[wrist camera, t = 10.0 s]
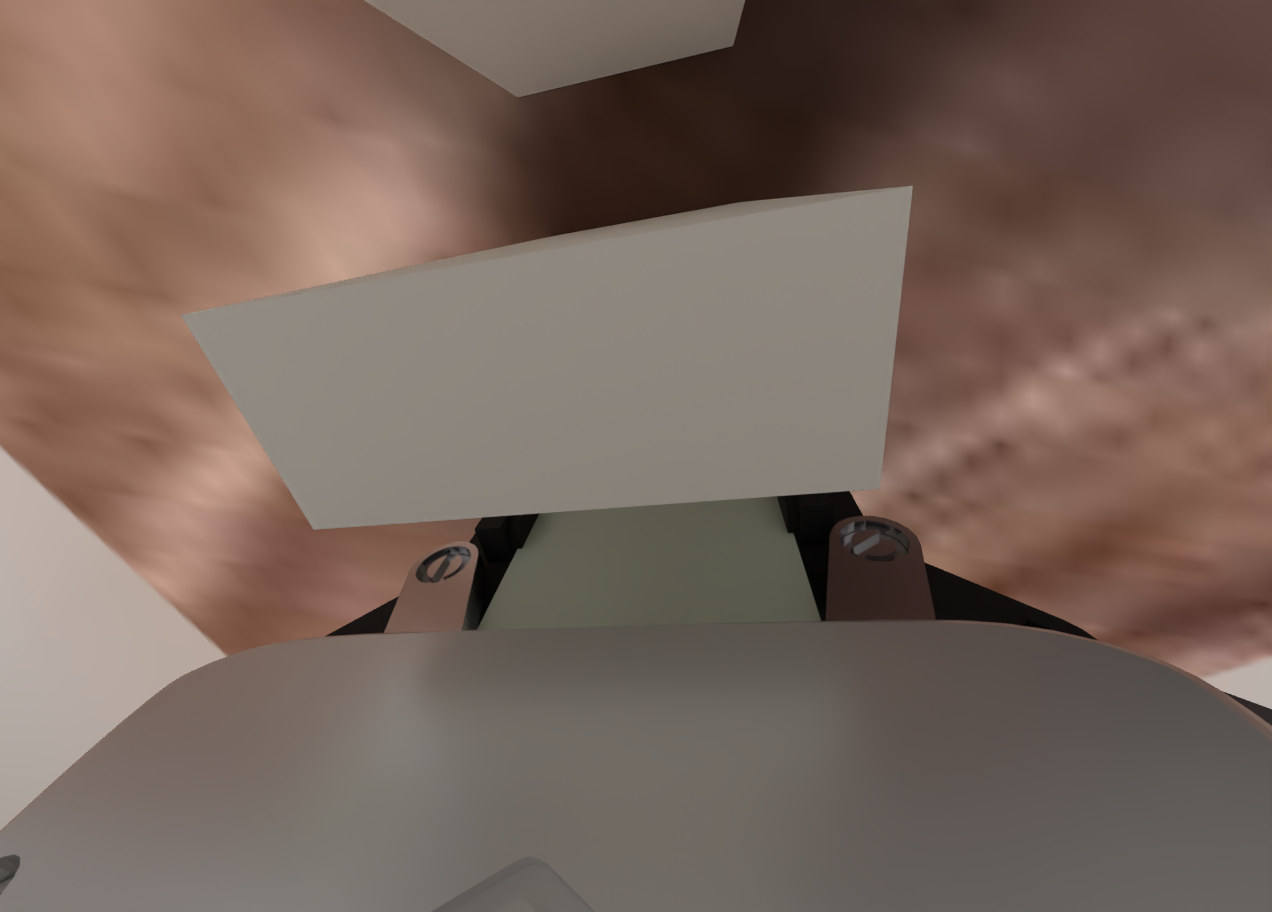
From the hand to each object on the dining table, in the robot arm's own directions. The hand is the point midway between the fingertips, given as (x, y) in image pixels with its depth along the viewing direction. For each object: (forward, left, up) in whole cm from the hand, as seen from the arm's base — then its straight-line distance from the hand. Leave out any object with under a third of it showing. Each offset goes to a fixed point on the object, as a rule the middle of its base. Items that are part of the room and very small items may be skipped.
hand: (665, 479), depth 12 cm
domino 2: (0, -5, -3) cm, 6 cm away
